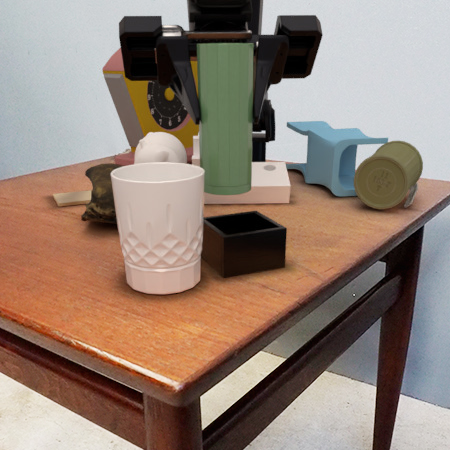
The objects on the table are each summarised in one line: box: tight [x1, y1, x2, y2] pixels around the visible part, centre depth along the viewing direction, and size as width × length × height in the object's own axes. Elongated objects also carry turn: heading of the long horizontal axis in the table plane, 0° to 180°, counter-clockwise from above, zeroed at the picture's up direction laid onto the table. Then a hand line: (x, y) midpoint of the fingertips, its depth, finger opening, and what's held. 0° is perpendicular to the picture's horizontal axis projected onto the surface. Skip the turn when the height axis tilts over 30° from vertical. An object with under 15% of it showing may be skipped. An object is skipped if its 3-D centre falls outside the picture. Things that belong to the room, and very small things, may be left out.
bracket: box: [191, 135, 292, 205], centre depth 75 cm, size 13×7×8 cm, turn 91°
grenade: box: [354, 140, 424, 210], centre depth 74 cm, size 8×7×15 cm
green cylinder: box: [197, 43, 254, 195], centre depth 51 cm, size 5×5×13 cm
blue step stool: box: [285, 120, 389, 197], centre depth 84 cm, size 8×8×20 cm
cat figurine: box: [134, 132, 188, 164], centre depth 80 cm, size 9×11×12 cm
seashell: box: [80, 163, 123, 225], centre depth 67 cm, size 16×9×7 cm, turn 3°
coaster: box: [52, 189, 92, 208], centre depth 76 cm, size 6×6×1 cm
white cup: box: [111, 162, 205, 295], centre depth 48 cm, size 8×8×10 cm
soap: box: [114, 148, 131, 157], centre depth 107 cm, size 10×4×1 cm, turn 171°
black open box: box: [201, 210, 288, 278], centre depth 53 cm, size 6×6×4 cm
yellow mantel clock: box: [101, 47, 199, 166], centre depth 95 cm, size 22×9×22 cm, turn 141°
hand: (226, 121), depth 49 cm, fingers closed on green cylinder, 5 cm apart
